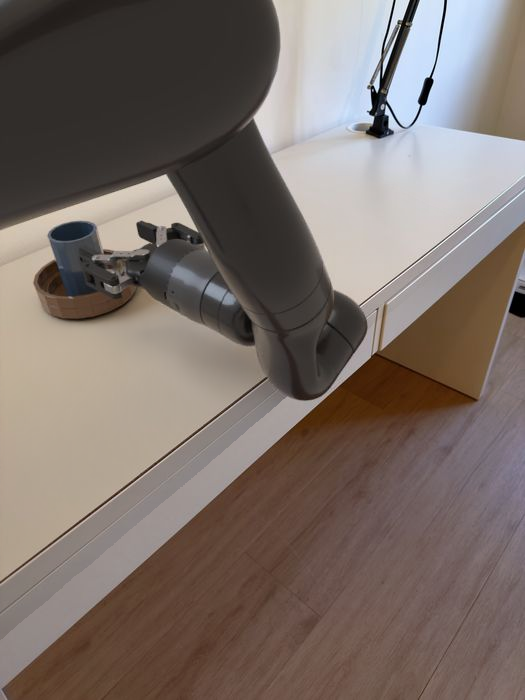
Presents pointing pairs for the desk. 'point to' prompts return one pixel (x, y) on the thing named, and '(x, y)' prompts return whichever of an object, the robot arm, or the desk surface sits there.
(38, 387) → the desk surface
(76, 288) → the cup
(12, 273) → the desk surface
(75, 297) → the bowl
